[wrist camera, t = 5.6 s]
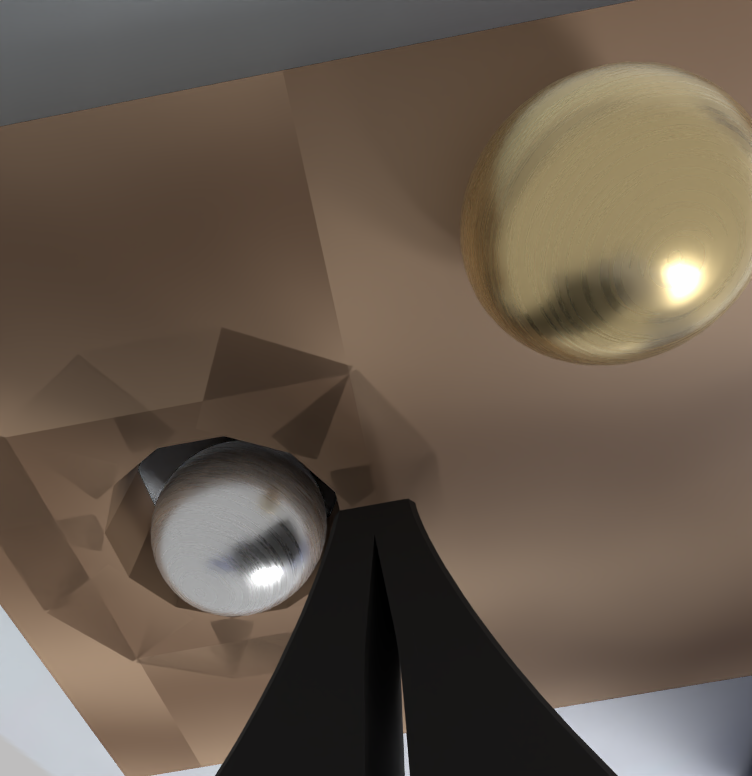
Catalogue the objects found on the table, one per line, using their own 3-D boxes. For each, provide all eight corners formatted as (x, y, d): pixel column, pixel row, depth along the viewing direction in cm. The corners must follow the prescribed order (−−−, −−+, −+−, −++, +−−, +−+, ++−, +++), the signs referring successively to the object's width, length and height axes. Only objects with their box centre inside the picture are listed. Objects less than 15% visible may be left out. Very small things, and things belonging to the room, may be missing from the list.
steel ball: (129, 630, 11) (211, 511, 14) (293, 674, 10) (343, 541, 13) (94, 502, 9) (197, 395, 12) (291, 546, 8) (349, 424, 11)
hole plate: (761, 601, 16) (814, 665, 14) (150, 704, 16) (127, 779, 14) (916, -49, 9) (1063, -85, 7) (-181, 169, 9) (-305, 186, 7)
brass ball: (658, 289, 9) (823, 387, 6) (451, 327, 9) (509, 444, 6) (677, 45, 7) (916, 11, 4) (425, 94, 7) (486, 94, 4)
